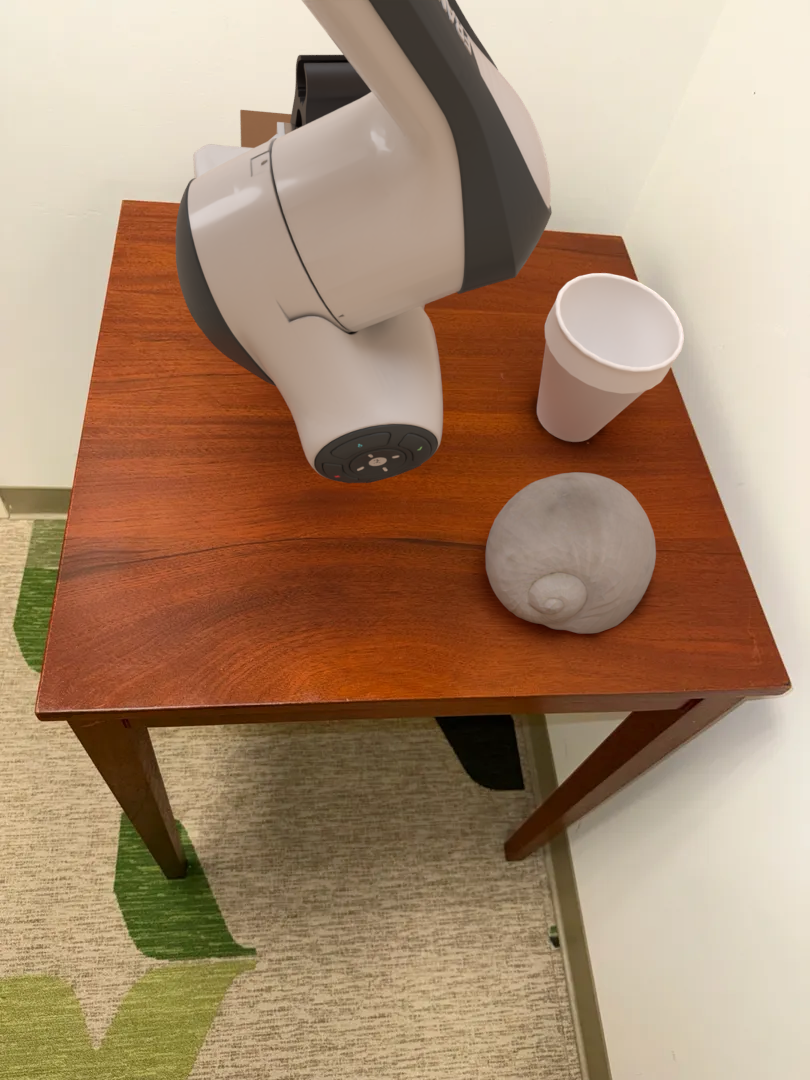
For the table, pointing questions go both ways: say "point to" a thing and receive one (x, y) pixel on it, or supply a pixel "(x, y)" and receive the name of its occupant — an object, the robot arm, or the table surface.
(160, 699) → the table surface
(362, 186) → the robot arm
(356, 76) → the phone stand
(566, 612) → the seashell
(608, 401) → the cup
